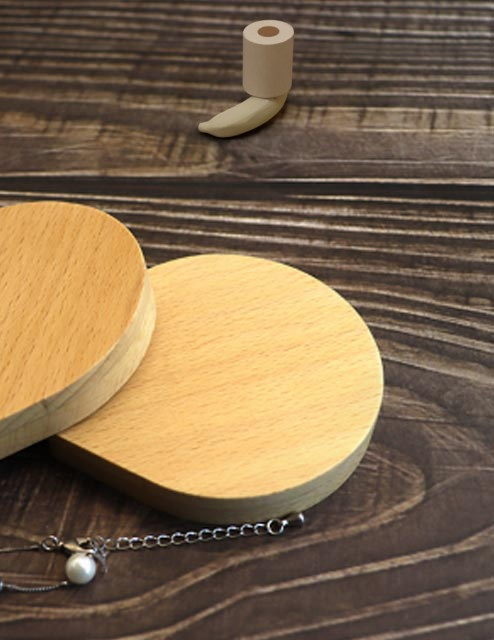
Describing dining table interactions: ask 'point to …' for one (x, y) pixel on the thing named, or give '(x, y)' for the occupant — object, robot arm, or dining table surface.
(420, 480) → the dining table surface
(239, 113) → the fruit
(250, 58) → the paper roll
